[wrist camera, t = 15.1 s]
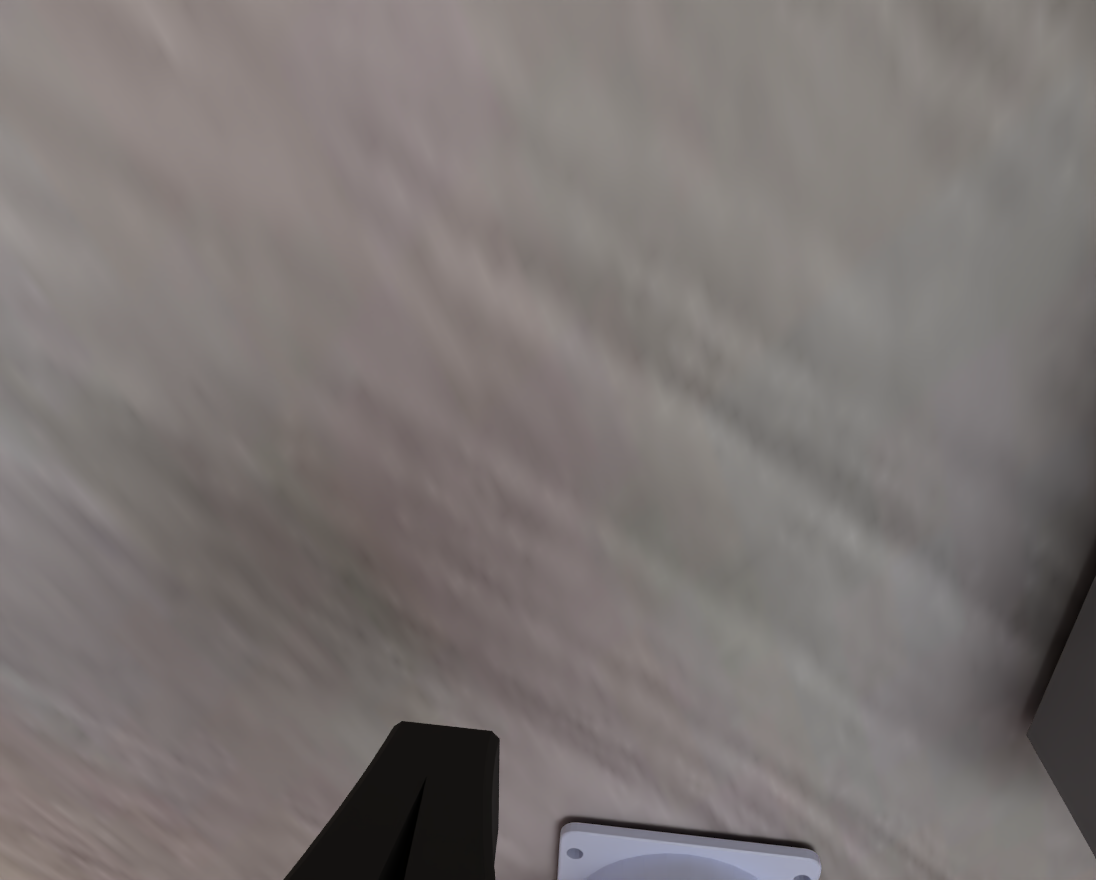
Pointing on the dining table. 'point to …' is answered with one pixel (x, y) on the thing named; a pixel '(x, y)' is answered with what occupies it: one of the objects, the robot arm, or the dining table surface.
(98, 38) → the dining table surface
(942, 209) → the dining table surface
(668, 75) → the dining table surface
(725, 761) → the dining table surface
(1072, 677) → the drawer
